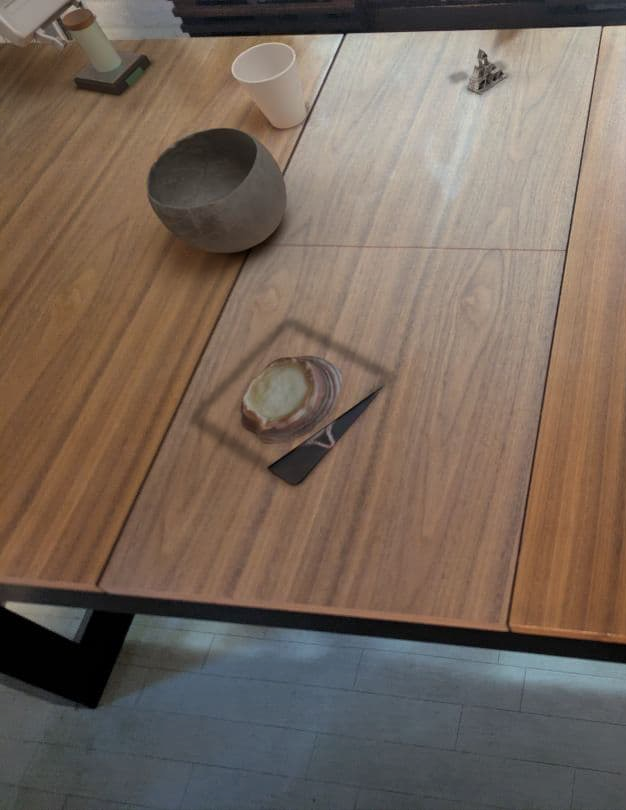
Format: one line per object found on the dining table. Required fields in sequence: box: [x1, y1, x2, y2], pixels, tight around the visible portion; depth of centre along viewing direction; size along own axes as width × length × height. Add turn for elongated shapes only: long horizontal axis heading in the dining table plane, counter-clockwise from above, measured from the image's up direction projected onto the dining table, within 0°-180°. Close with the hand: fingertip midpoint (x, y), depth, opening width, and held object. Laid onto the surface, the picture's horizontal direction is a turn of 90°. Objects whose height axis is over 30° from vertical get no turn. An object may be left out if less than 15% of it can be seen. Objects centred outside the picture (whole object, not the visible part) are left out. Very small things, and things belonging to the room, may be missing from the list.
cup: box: [230, 41, 307, 130], centre depth 133 cm, size 12×12×12 cm
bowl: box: [145, 127, 288, 254], centre depth 117 cm, size 20×20×15 cm
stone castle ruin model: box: [467, 48, 508, 96], centre depth 136 cm, size 9×9×8 cm
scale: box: [73, 49, 152, 96], centre depth 150 cm, size 11×11×3 cm
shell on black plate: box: [240, 355, 385, 485], centre depth 102 cm, size 21×20×4 cm
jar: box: [61, 8, 121, 73], centre depth 144 cm, size 6×6×10 cm
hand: (79, 33), depth 143 cm, fingers open, 8 cm apart
